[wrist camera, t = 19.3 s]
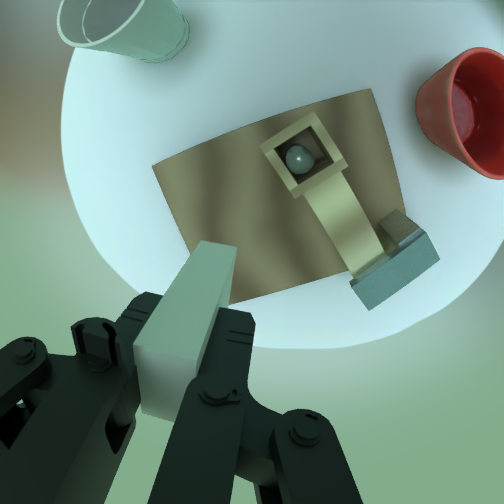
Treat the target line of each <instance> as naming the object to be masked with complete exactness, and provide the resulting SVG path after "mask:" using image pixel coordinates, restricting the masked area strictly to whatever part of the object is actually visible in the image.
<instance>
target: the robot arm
mask: <svg viewBox="0 0 504 504" xmlns="http://www.w3.org/2000/svg"><path fill="white" fill-rule="evenodd" d="M236 252H237V247H234V246H229V245H223V244H218V243H213V242H207V241H202V240H201V241H200V242H199V244H198V245H197V247H196V248H195V250H194V251H193V253H192V254H191V255H190V257H189V258H188V260H187V261H186V263H185V264H184V266H183V267H182V269H181V270H180V272H179V273H178V275H177V276H176V278H175V279H174V281H173V282H172V284H171V285H170V287H169V288H168V290H167V291H166V293H165V294H164V296H163V295H158V294H154V293H150V292H144V293H142V294H140V295H138V296H137V297H135V298H134V299H133V300H132V301H131V302H130V304H129V305H128V306H127V309H125V310H124V311H123V313H122V314H121V317H119V318H118V319H117V320H116V322H113V321H110V320H108V319H105V318H99V317H93V318H86V319H83V320H80V321H78V322H76V323H75V324H74V325H72V326H71V331H72V335H73V339H74V344H75V348H76V352H77V353H76V355H75V356H66V355H57V354H49V353H48V352H47V349H46V346H45V345H44V343H43V342H42V341H41V340H39V339H37V338H35V337H21V338H18V339H16V340H14V341H12V342H10V343H9V344H7V345H6V346H5V347H3V348H2V349H0V504H104V502H105V500H106V497H107V495H108V492H109V490H110V487H111V485H112V482H113V480H114V477H115V475H116V472H117V470H118V468H119V465H120V463H121V460H122V458H123V456H124V453H125V451H126V448H127V446H128V444H129V441H130V439H131V437H132V434H133V432H134V430H135V426H136V418H135V413H136V411H137V409H138V407H139V404H141V410H142V413H144V414H147V415H151V416H154V417H158V418H161V419H165V420H168V421H172V422H175V423H174V426H173V428H172V431H171V434H170V437H169V440H168V443H167V446H166V449H165V452H164V455H163V458H162V461H161V464H160V467H159V470H158V473H157V476H156V479H155V482H154V485H153V488H152V491H151V494H150V497H149V500H148V503H147V504H230V500H231V494H232V488H233V481H234V475H237V476H239V477H241V478H244V479H246V480H248V481H250V482H253V484H254V489H255V494H256V500H257V504H363V502H362V499H361V497H360V494H359V491H358V489H357V486H356V484H355V481H354V479H353V476H352V473H351V471H350V468H349V466H348V463H347V461H346V458H345V456H344V453H343V450H342V448H341V445H340V443H339V440H338V438H337V435H336V433H335V430H334V428H333V426H332V425H331V423H330V422H329V420H328V419H326V418H325V417H324V416H322V415H321V414H320V413H317V412H314V411H312V410H308V409H307V410H306V409H295V410H291V411H287V412H286V413H285V414H283V415H282V414H279V413H277V412H275V411H272V410H270V409H268V408H266V407H264V406H262V405H261V404H259V403H258V402H257V401H256V400H255V399H254V398H253V397H252V395H251V394H250V392H249V389H248V384H247V383H248V382H247V380H248V373H249V366H250V360H251V353H252V345H253V339H254V332H255V325H256V323H255V321H254V319H253V317H252V315H251V313H249V312H244V311H238V310H233V309H228V304H229V298H230V291H231V285H232V278H233V272H234V265H235V259H236ZM21 399H22V400H23V403H21V404H16V403H18V402H19V401H20V400H21Z"/></svg>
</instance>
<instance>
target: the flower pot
mask: <svg viewBox="0 0 504 504" xmlns="http://www.w3.org/2000/svg"><path fill="white" fill-rule="evenodd" d="M415 106H416V115H417V119H418V122H419V125H420V127H421V129H422V131H423V132H424V134H425V135H426V136H427V137H428V139H429V140H430V141H432V142H433V143H434V144H436V145H437V146H439V147H440V148H442V149H443V150H445V151H446V152H448V153H449V154H451V155H452V156H454V157H455V158H457V159H458V160H460V161H461V162H463V163H464V164H466V165H467V166H469V167H470V168H472V169H473V170H475V171H476V172H478V173H480V174H481V175H483V176H485V177H487V178H491V179H496V180H502V179H504V56H503V55H502V54H500V53H498V52H496V51H494V50H491V49H488V48H483V47H475V48H471V49H468V50H466V51H464V52H463V53H461V54H460V55H458V56H457V57H455V58H454V59H453V60H451V61H450V62H449V63H448V64H446V65H445V66H444V67H443V68H441V69H440V70H439V71H438V72H436V73H435V74H434V75H433V76H432V77H431V78H430V79H429V80H427V81H426V82H425V83H424V84H423V85H422V86H421V88H420V89H419V91H418V94H417V98H416V105H415Z"/></svg>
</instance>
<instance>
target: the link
mask: <svg viewBox="0 0 504 504" xmlns="http://www.w3.org/2000/svg"><path fill="white" fill-rule="evenodd" d="M306 128H307V129H308V131H309V132H310V134H311V135H312V137H313V138H314V140H315V141H316V143H317V144H318V146H319V147H320V149H321V151H322V152H323V154H324V155H325V158H323V159H322V160H320V161H318V162H317V163H315V164H313V167H312V168H311V169H310V170H309V171H308V172H306V173H304V174H297V175H296V176H295V175H294V174H293V172H292V171H291V170H290V169H289V168H288V166H287V164H286V162H285V160H284V159H283V157H282V156H281V154H280V153H279V151H278V150H277V148H276V147H277V146H278V145H280V144H282V143H283V142H285V141H286V140H288V139H289V138H291V137H293V136H294V135H296V134H297V133H299V132H301V131H302V130H304V129H306ZM259 147H260V148H261V150H262V151H263V153H264V154H265V156H266V157H267V158H268V160H269V161H270V163H271V164H272V166H273V167H274V169H275V170H276V172H277V173H278V174H279V176H280V177H281V179H282V180H283V182H284V183H285V185H286V186H287V188H288V189H289V191H290V192H291V194H292V195H293V197H294V198H295V199H296V198H297V197H299V196H301V195H302V194H303V195H304V196H305V198H306V200H307V201H308V203H309V204H310V206H311V207H312V209H313V211H314V212H315V214H316V215H317V217H318V219H319V220H320V222H321V223H322V225H323V227H324V228H325V230H326V232H327V233H328V235H329V237H330V238H331V240H332V242H333V243H334V245H335V247H336V248H337V250H338V252H339V253H340V255H341V257H342V258H343V260H344V262H345V264H346V265H347V267H348V269H349V271H350V272H351V274H352V276H353V278H355V277H357V276H358V275H360V274H361V273H362V272H364V271H365V270H367V269H368V268H369V267H371V266H372V265H374V264H375V263H376V262H378V261H379V260H381V259H382V258H383V257H385V256H386V254H385V252H384V250H383V248H382V246H381V244H380V242H379V240H378V238H377V236H376V234H375V232H374V230H373V228H372V226H371V224H370V222H369V220H368V218H367V217H366V215H365V213H364V211H363V209H362V207H361V206H360V204H359V202H358V200H357V198H356V197H355V195H354V193H353V191H352V190H351V188H350V186H349V184H348V183H347V181H346V179H345V178H344V176H343V174H342V172H341V170H343V169H345V168H346V167H348V164H347V163H346V161H345V159H344V158H343V156H342V154H341V153H340V151H339V150H338V148H337V146H336V145H335V143H334V141H333V140H332V138H331V137H330V135H329V134H328V132H327V131H326V129H325V127H324V126H323V124H322V123H321V121H320V120H319V118H318V117H317V115H316V114H315V112H314V111H313V112H312V113H310V114H308V115H307V116H305V117H303V118H302V119H300V120H298V121H297V122H295V123H294V124H292V125H290V126H289V127H287V128H286V129H284V130H282V131H281V132H279V133H278V134H276V135H275V136H273V137H271V138H270V139H268V140H267V141H265V142H264V143H262V144H261V145H259Z"/></svg>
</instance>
